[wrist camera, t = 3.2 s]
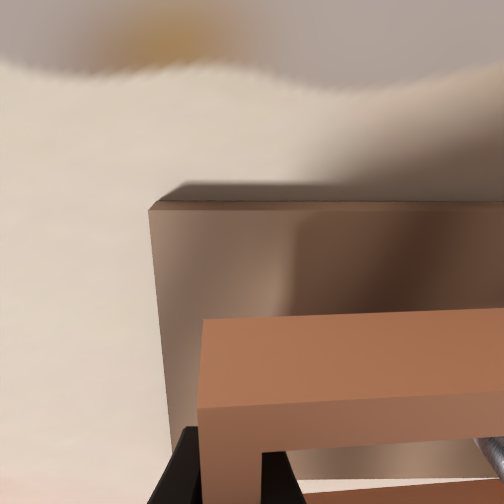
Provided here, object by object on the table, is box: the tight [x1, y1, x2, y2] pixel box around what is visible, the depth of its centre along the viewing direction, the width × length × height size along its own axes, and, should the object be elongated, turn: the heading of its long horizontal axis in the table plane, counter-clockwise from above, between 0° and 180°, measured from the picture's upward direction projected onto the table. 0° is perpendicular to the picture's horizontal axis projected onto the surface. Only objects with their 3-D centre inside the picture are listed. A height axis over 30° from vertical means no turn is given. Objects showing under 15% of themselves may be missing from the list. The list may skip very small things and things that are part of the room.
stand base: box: [148, 201, 504, 480], centre depth 14 cm, size 16×12×1 cm
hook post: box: [472, 436, 504, 484], centre depth 12 cm, size 2×2×4 cm
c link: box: [197, 308, 504, 504], centre depth 10 cm, size 12×8×3 cm, turn 90°
